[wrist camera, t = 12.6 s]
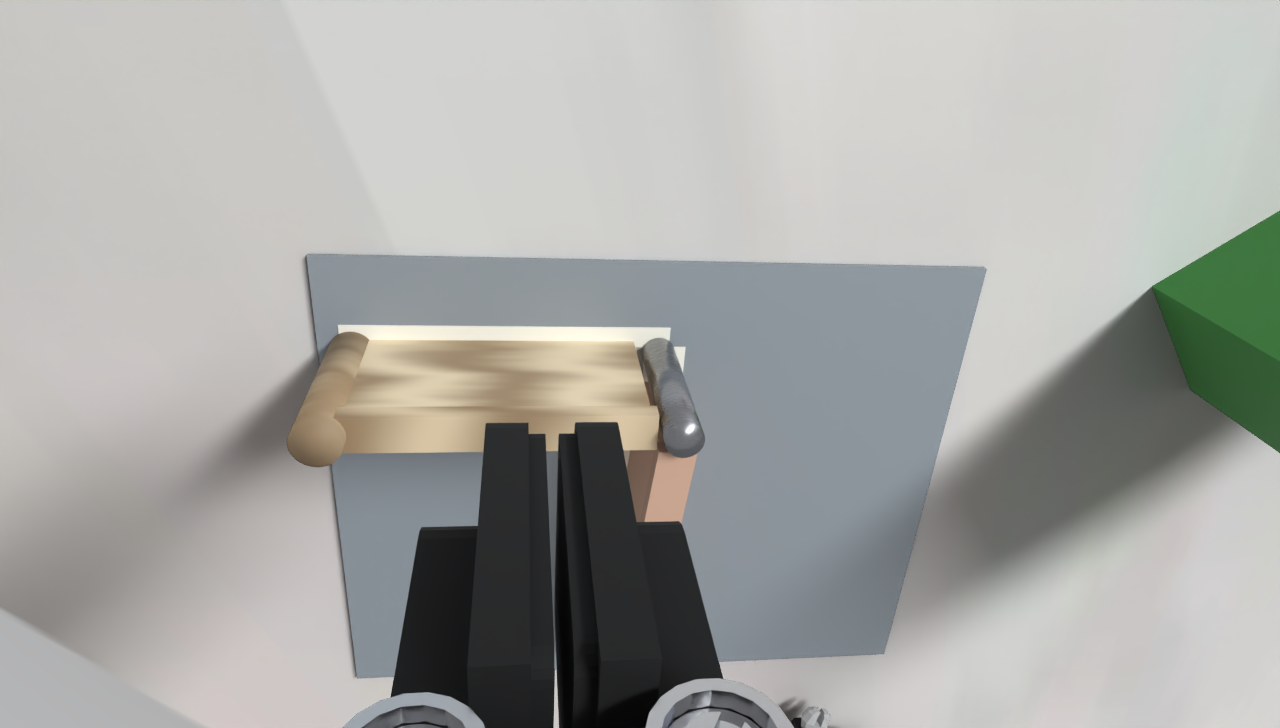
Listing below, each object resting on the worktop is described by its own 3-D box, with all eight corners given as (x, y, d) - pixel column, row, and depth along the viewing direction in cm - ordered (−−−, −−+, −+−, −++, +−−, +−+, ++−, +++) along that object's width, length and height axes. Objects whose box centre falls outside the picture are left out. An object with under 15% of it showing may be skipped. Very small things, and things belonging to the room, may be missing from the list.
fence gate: (635, 376, 40) (654, 454, 34) (676, 380, 40) (702, 458, 35) (593, 603, 46) (603, 701, 40) (630, 604, 47) (645, 702, 41)
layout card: (358, 674, 48) (356, 679, 48) (307, 253, 37) (306, 256, 36) (882, 650, 52) (884, 654, 52) (983, 266, 41) (987, 269, 40)
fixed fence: (331, 370, 39) (290, 467, 32) (327, 330, 38) (283, 421, 31) (672, 371, 41) (702, 461, 34) (676, 333, 40) (707, 419, 33)
